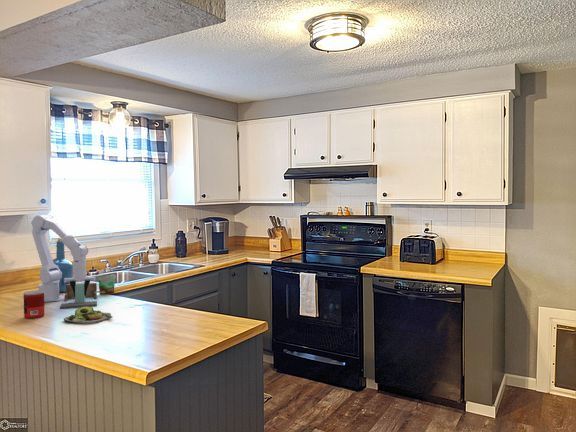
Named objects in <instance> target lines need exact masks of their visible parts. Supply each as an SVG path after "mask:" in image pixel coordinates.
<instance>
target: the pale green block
mask: <svg viewBox="0 0 576 432" xmlns="http://www.w3.org/2000/svg"><path fill="white" fill-rule="evenodd" d="M84 282H85V281H79V282H76V285H75V299H74V300H75V302H86V297H85V296H84V291H85V285H84ZM75 302H74V303H75Z"/></svg>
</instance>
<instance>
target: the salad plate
mask: <svg viewBox="0 0 576 432" xmlns="http://www.w3.org/2000/svg"><path fill="white" fill-rule="evenodd" d="M111 318H113V316H112V313H111V312H104V311H101V310H98V309H97V310H96V309H95V310H94V307H93V306H92V307H90V306H84V307H78V308H77V309H75V311H74V314H71V315H69V316H65V317H63V321H64V322H65V323H67V324H74V325H75V324H76V325H88V324H96V323H97V324H98V323H101V322H103V321H104V322H105V321H106V320H109V319H111Z"/></svg>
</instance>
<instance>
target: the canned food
mask: <svg viewBox="0 0 576 432" xmlns="http://www.w3.org/2000/svg"><path fill="white" fill-rule="evenodd" d="M23 316H24V319H26V320H33V319H39V318H43V317H44V316H45V302H44V291H42V290H39V289H38V290H29V291H25V292H23Z"/></svg>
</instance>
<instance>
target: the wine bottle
mask: <svg viewBox="0 0 576 432" xmlns="http://www.w3.org/2000/svg"><path fill="white" fill-rule="evenodd" d="M62 241H63V239H62V238H57V240H56V246H55V248H56V251H55V252H56V254H55V255H56V256H55V258H52V259H53V262H54V264H56V265H57V266H58V268H59V270H60V271H61V272H62V278H61V279H60V282H59V294H60V293H66V285H68V284H70V282H64V278H73V277H74V263H73V262H72V261H70V260H68V259H67V258H66V255H65V253H66V252H65V247H66V246H65V245H64V243H63V242H62ZM49 271H50V270H49Z"/></svg>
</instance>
